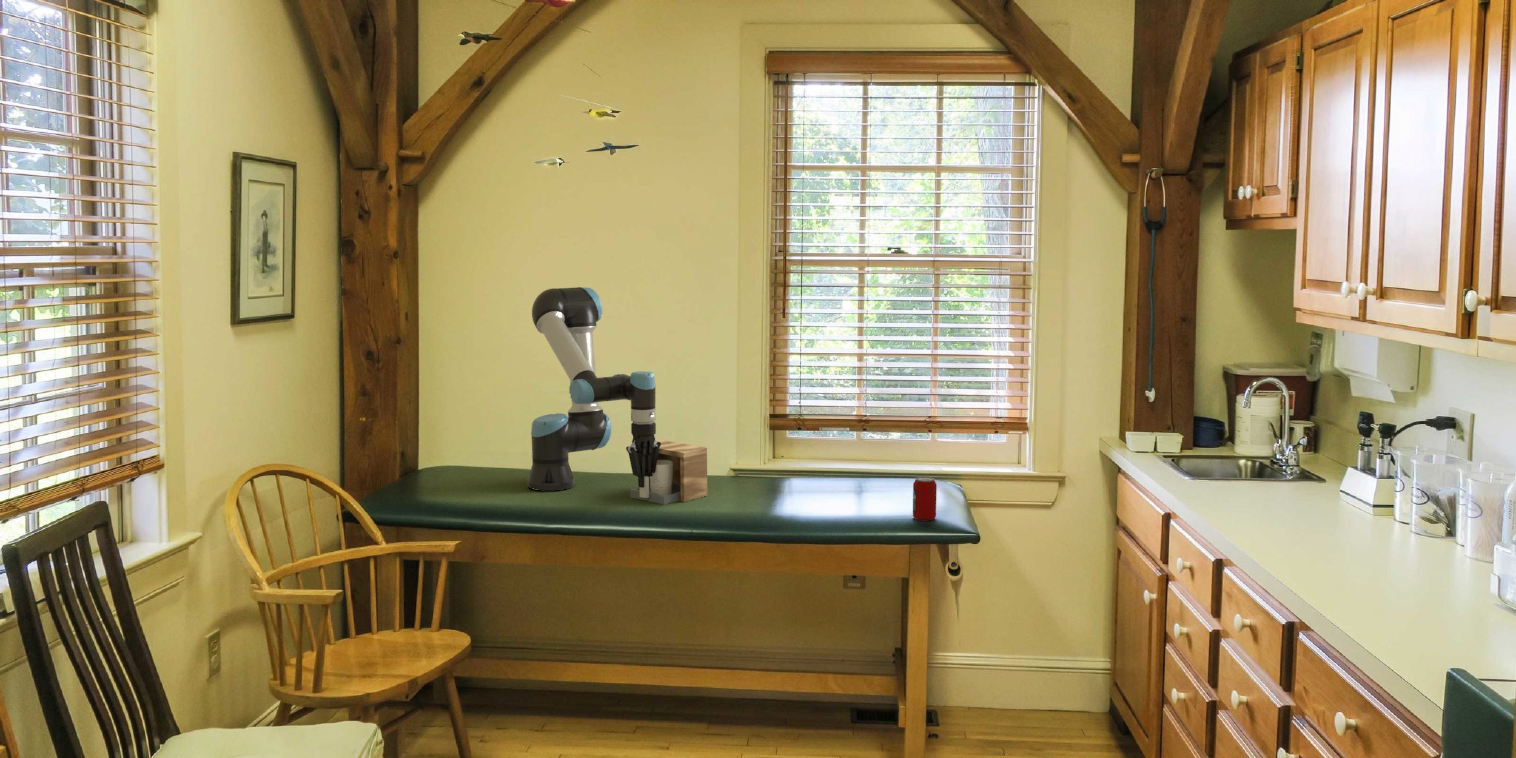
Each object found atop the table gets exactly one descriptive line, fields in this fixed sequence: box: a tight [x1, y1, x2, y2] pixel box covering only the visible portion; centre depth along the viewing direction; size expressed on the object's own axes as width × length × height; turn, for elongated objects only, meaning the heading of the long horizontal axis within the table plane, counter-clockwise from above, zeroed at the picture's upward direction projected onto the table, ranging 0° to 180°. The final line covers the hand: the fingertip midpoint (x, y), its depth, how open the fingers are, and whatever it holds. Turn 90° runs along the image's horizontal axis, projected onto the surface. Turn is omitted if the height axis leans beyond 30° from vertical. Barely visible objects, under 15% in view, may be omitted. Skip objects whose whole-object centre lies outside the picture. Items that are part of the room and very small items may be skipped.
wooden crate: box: [656, 439, 708, 503], centre depth 367 cm, size 20×10×16 cm, turn 50°
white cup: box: [650, 460, 674, 495], centre depth 364 cm, size 8×8×10 cm
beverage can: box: [912, 476, 938, 522], centre depth 336 cm, size 7×7×12 cm
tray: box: [629, 483, 681, 505], centre depth 364 cm, size 15×15×2 cm
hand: (644, 496), depth 358 cm, fingers closed
